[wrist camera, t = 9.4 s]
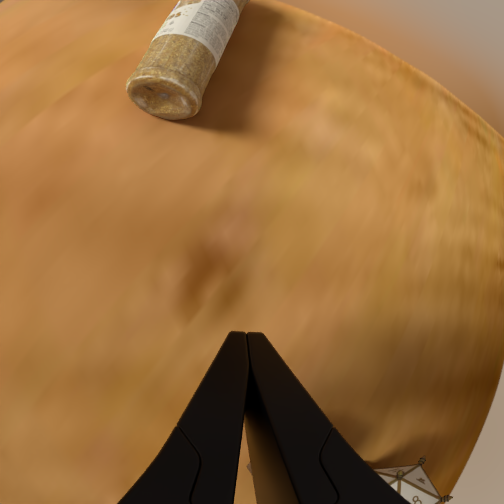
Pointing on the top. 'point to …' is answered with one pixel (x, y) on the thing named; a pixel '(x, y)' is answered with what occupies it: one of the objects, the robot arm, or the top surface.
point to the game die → (412, 483)
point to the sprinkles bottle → (183, 57)
